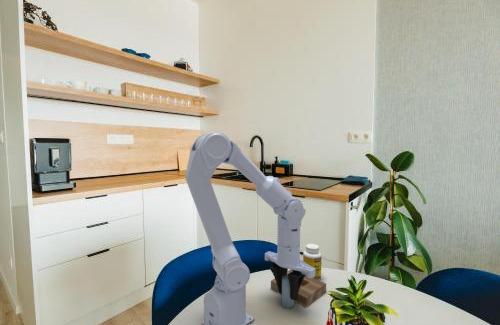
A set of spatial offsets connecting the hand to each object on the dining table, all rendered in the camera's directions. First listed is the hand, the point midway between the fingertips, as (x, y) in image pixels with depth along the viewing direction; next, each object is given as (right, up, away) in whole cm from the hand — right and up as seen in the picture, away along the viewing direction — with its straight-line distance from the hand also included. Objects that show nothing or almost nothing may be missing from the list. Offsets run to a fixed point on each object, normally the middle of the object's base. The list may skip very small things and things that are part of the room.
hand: (288, 295), depth 66 cm
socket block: (+4, -2, +7) cm, 8 cm away
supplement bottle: (+10, -2, +14) cm, 17 cm away
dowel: (0, -2, 0) cm, 2 cm away
